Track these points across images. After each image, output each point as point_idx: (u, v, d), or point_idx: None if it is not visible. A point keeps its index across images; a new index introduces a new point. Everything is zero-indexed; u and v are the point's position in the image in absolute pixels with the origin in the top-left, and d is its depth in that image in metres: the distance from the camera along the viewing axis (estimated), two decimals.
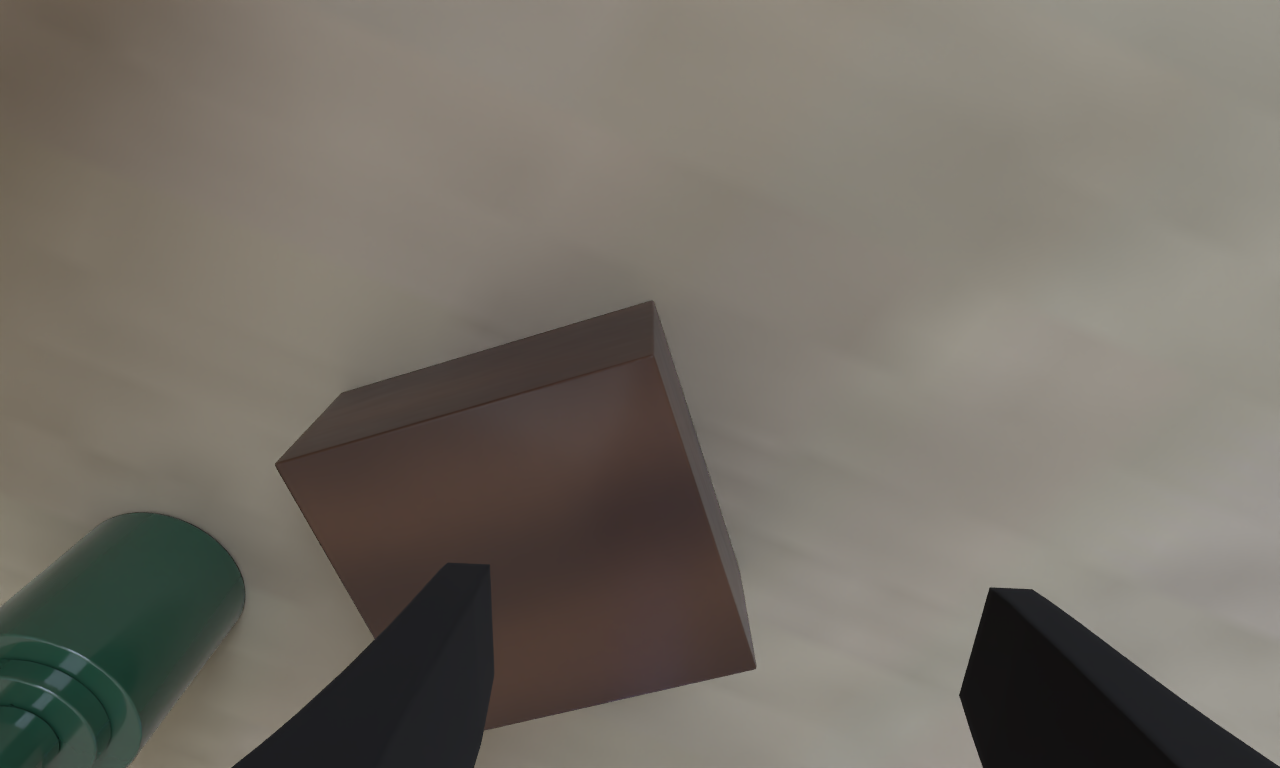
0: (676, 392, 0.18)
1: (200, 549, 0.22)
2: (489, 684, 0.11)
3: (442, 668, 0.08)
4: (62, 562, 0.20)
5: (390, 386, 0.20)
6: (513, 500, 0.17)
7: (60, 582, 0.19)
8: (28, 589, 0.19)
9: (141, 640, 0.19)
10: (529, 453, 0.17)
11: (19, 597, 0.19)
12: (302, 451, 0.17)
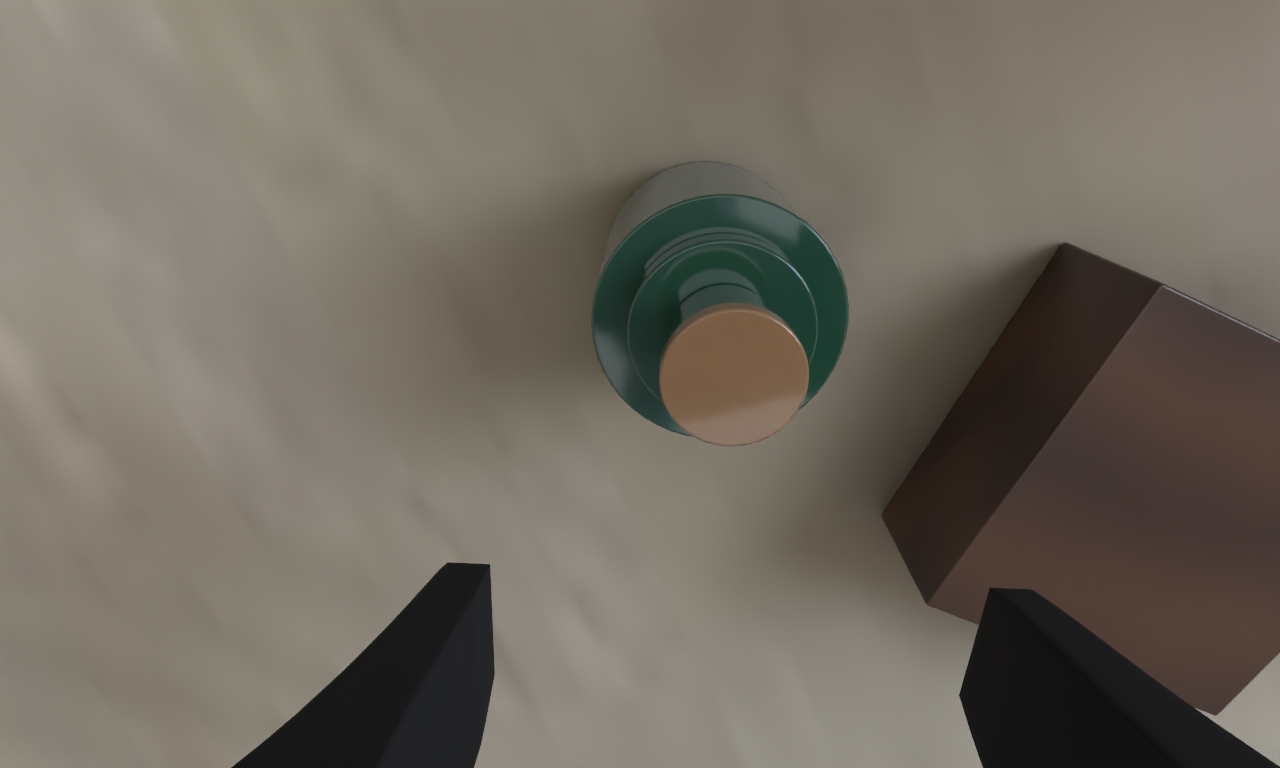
0: None
1: None
2: (489, 684, 0.11)
3: (442, 668, 0.08)
4: (758, 183, 0.16)
5: None
6: (1265, 464, 0.17)
7: (792, 208, 0.16)
8: (760, 188, 0.15)
9: None
10: None
11: (763, 191, 0.15)
12: (1178, 291, 0.16)
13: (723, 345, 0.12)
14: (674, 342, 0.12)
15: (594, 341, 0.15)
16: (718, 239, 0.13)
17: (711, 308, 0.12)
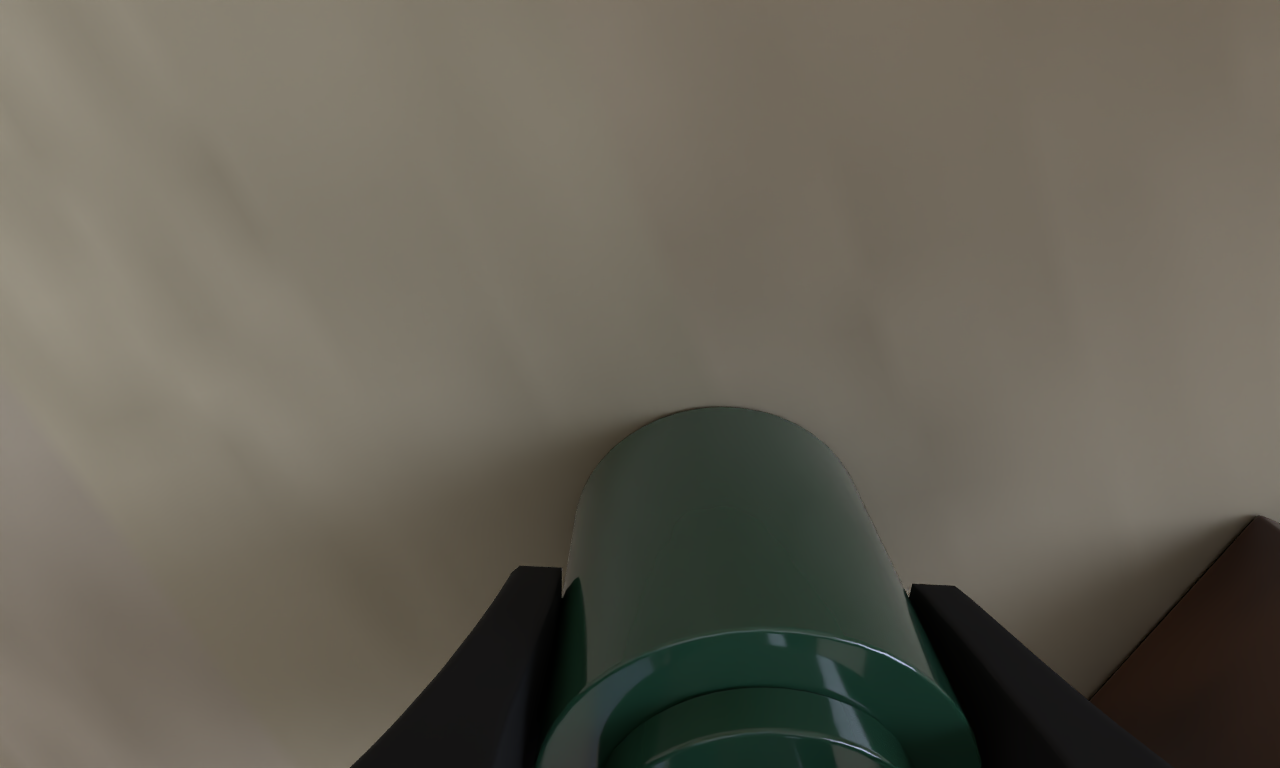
0: None
1: None
2: None
3: (531, 672, 0.08)
4: (811, 492, 0.10)
5: None
6: None
7: (873, 560, 0.09)
8: (821, 536, 0.09)
9: None
10: None
11: (829, 553, 0.09)
12: None
13: None
14: None
15: None
16: (759, 725, 0.07)
17: None
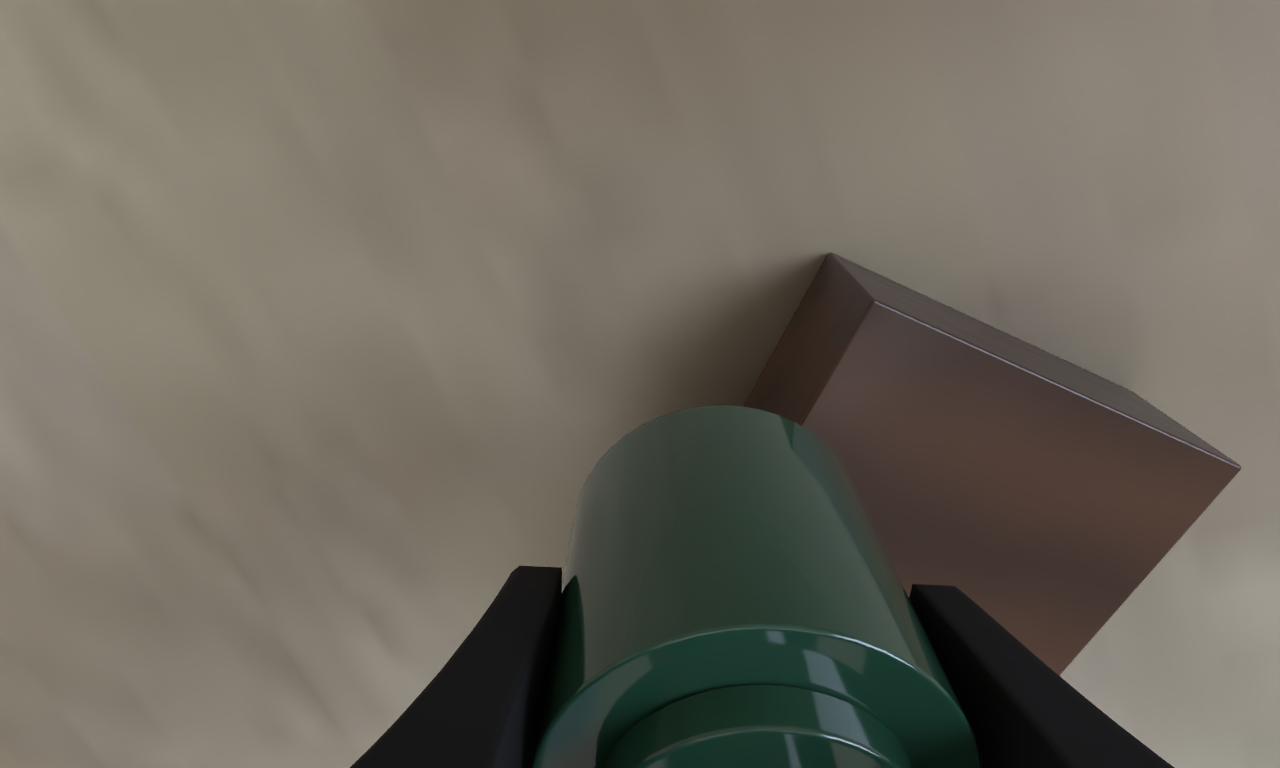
0: None
1: None
2: None
3: (531, 672, 0.08)
4: (810, 490, 0.10)
5: (902, 289, 0.18)
6: (1010, 490, 0.16)
7: (873, 558, 0.09)
8: (820, 534, 0.09)
9: None
10: (1070, 465, 0.16)
11: (827, 551, 0.09)
12: (897, 307, 0.15)
13: None
14: None
15: None
16: (757, 722, 0.07)
17: None
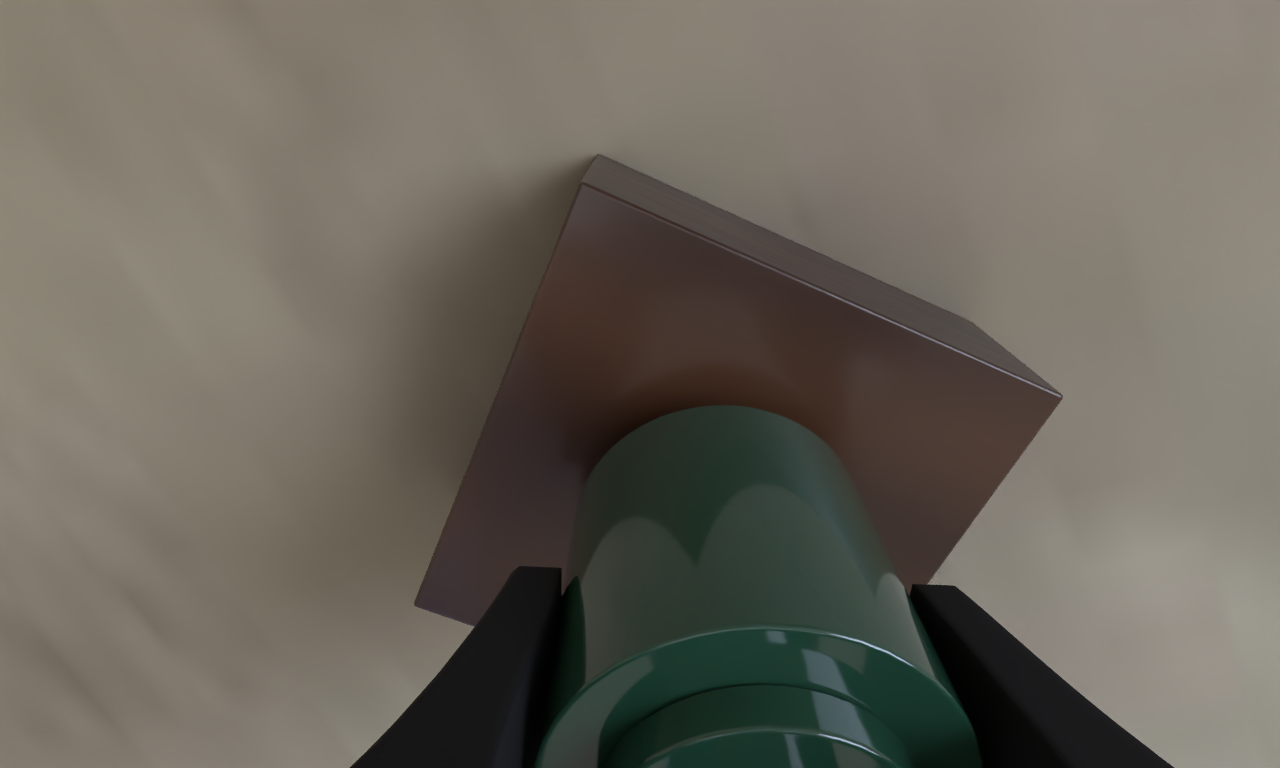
0: None
1: None
2: None
3: (531, 672, 0.08)
4: (811, 490, 0.10)
5: (678, 194, 0.15)
6: None
7: (874, 557, 0.09)
8: (821, 534, 0.09)
9: None
10: (852, 394, 0.13)
11: (829, 550, 0.09)
12: (617, 194, 0.12)
13: None
14: None
15: None
16: (758, 722, 0.07)
17: None
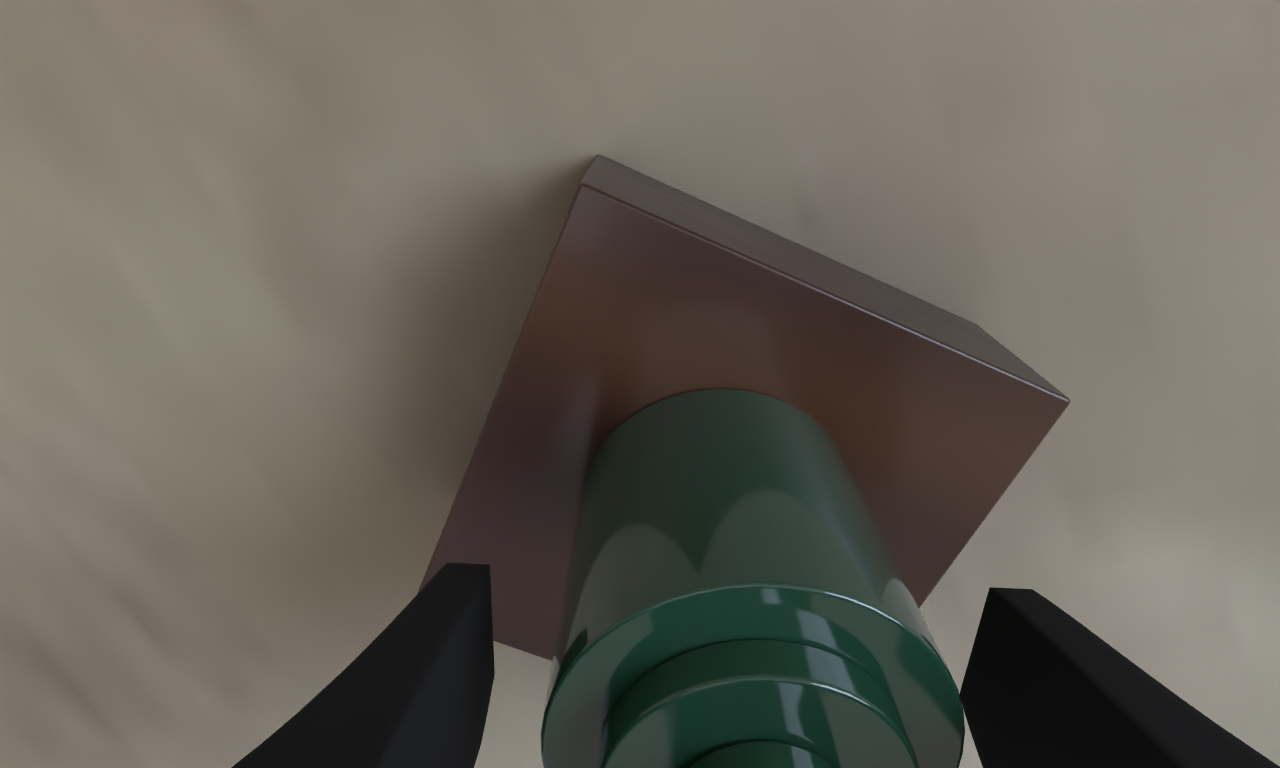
0: None
1: None
2: (489, 684, 0.11)
3: (442, 668, 0.08)
4: (805, 466, 0.11)
5: (679, 195, 0.15)
6: None
7: (863, 527, 0.10)
8: (813, 505, 0.10)
9: None
10: (856, 398, 0.13)
11: (820, 519, 0.09)
12: (618, 195, 0.12)
13: None
14: None
15: None
16: (754, 672, 0.08)
17: None
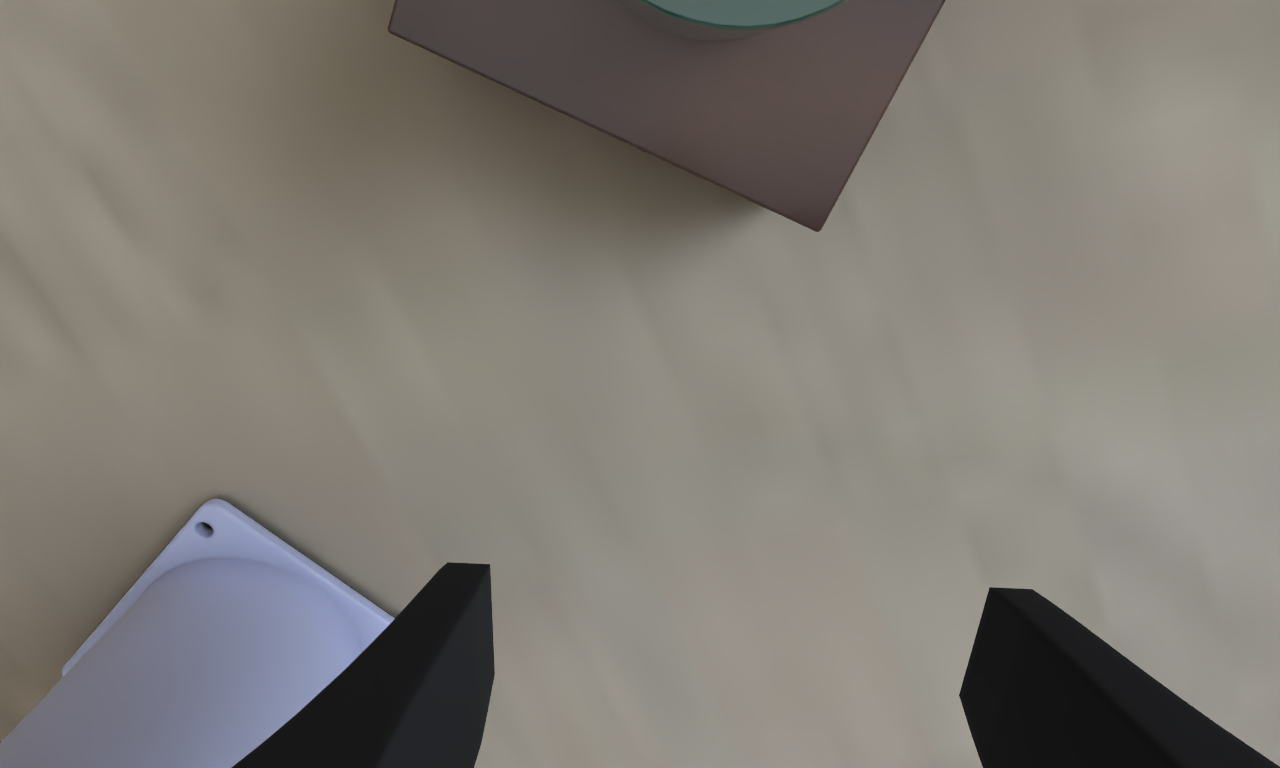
0: None
1: None
2: (489, 684, 0.11)
3: (442, 668, 0.08)
4: None
5: None
6: None
7: None
8: None
9: None
10: None
11: None
12: None
13: None
14: None
15: None
16: None
17: None
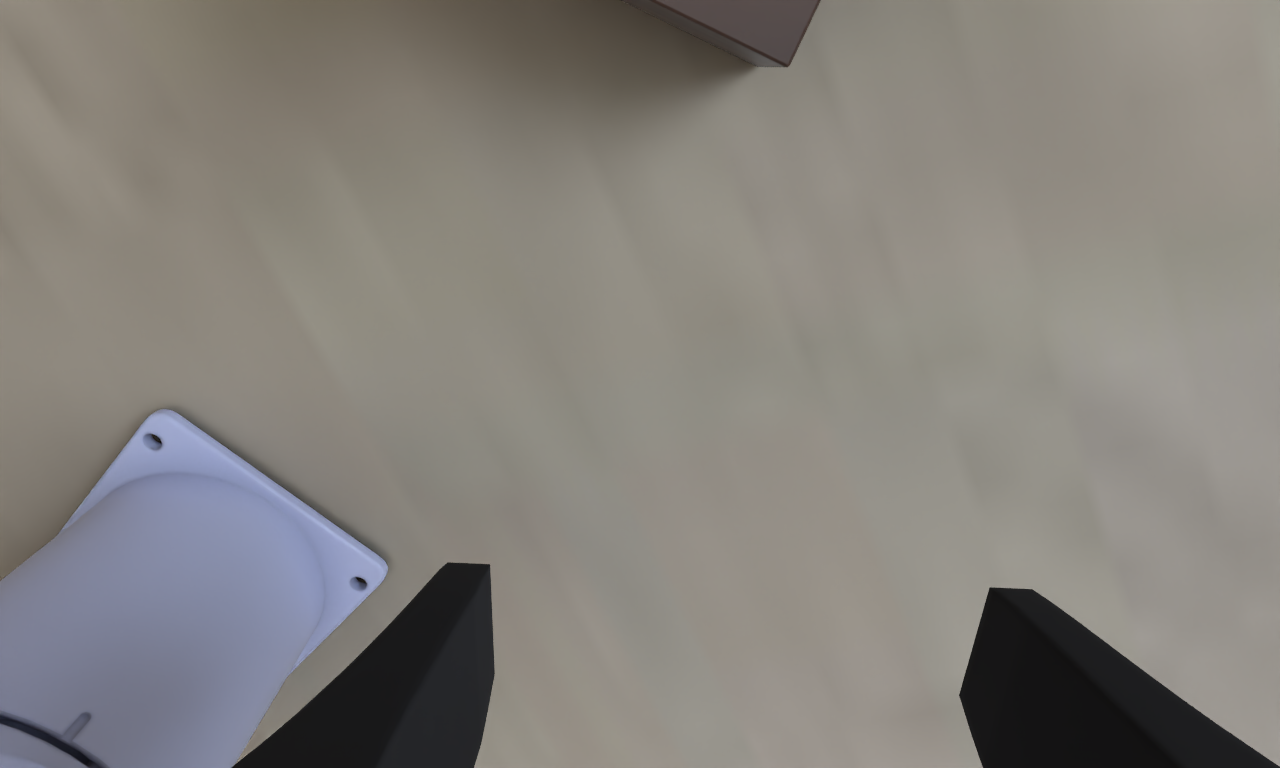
0: None
1: None
2: (489, 684, 0.11)
3: (442, 668, 0.08)
4: None
5: None
6: None
7: None
8: None
9: None
10: None
11: None
12: None
13: None
14: None
15: None
16: None
17: None
